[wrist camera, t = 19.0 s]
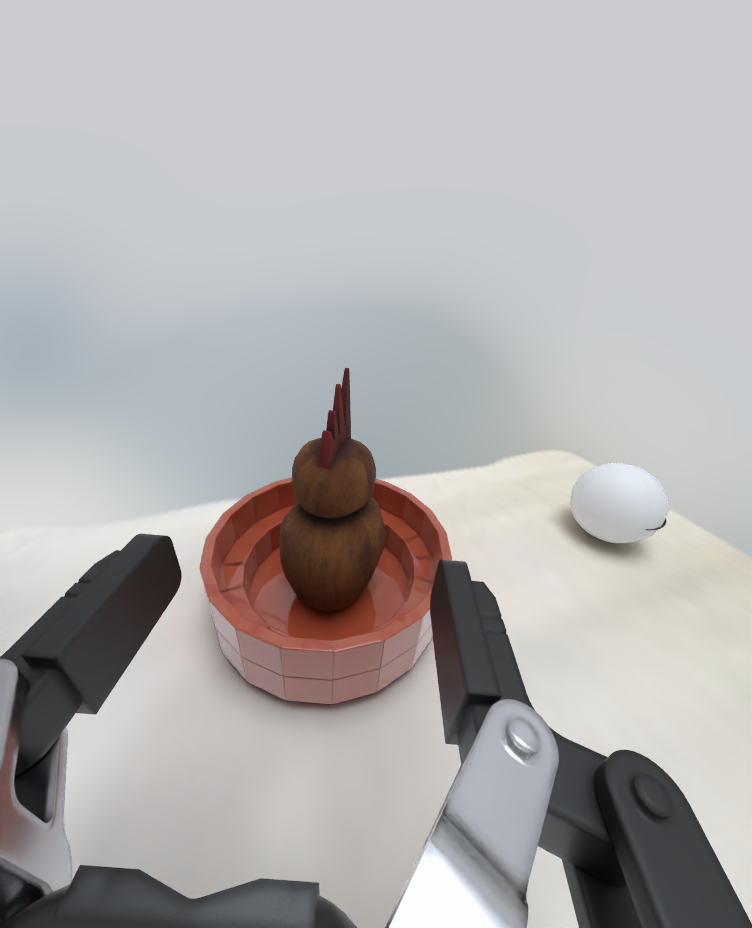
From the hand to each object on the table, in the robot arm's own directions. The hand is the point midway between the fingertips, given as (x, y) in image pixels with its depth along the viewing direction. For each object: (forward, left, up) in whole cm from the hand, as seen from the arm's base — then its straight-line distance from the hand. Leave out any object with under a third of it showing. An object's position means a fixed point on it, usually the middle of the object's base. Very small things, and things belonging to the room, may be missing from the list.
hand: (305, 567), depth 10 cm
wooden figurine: (0, +9, -12) cm, 15 cm away
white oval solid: (+26, +19, -13) cm, 34 cm away
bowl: (0, +9, -13) cm, 15 cm away
